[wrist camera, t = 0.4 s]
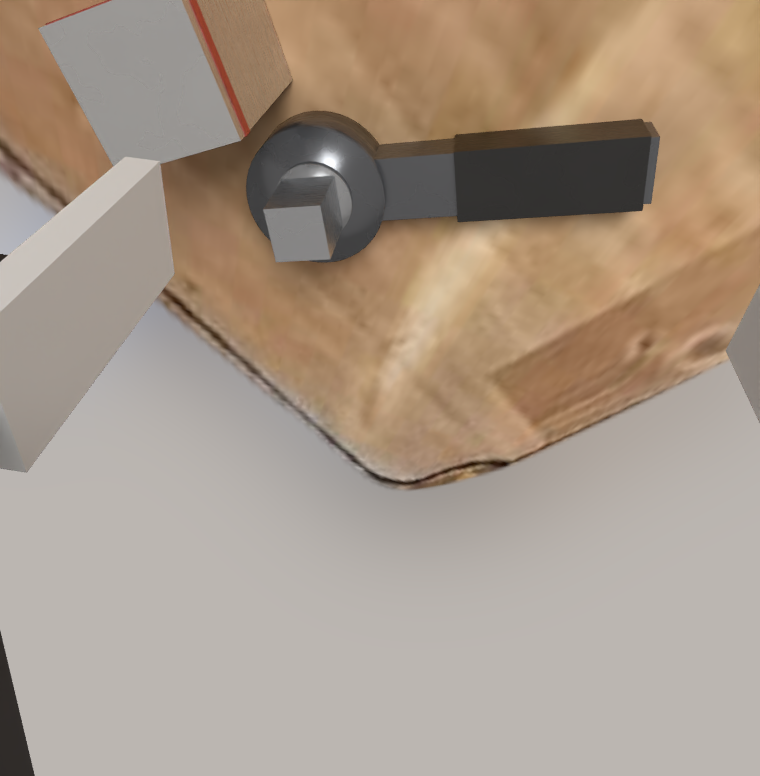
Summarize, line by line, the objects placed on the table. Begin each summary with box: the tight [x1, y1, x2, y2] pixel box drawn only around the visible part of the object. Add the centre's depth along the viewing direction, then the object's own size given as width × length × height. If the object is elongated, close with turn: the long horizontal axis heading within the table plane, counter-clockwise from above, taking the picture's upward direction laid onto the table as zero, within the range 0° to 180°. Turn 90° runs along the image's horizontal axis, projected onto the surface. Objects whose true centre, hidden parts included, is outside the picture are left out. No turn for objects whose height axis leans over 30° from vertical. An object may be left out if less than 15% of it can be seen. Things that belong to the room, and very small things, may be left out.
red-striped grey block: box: [38, 0, 293, 166], centre depth 32 cm, size 6×6×10 cm
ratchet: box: [246, 111, 660, 262], centre depth 36 cm, size 22×8×8 cm, turn 97°
